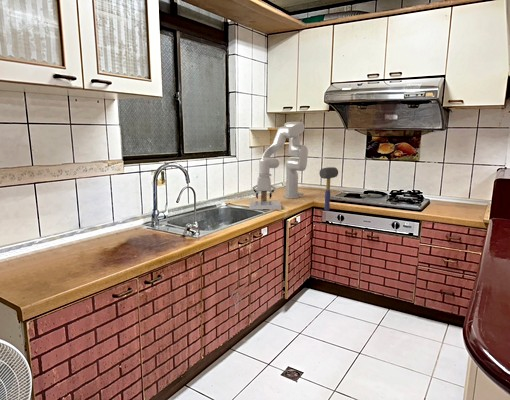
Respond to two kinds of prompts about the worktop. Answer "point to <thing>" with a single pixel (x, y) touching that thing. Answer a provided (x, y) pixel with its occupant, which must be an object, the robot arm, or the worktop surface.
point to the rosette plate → (265, 205)
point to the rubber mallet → (328, 183)
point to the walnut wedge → (263, 195)
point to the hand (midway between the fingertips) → (263, 198)
